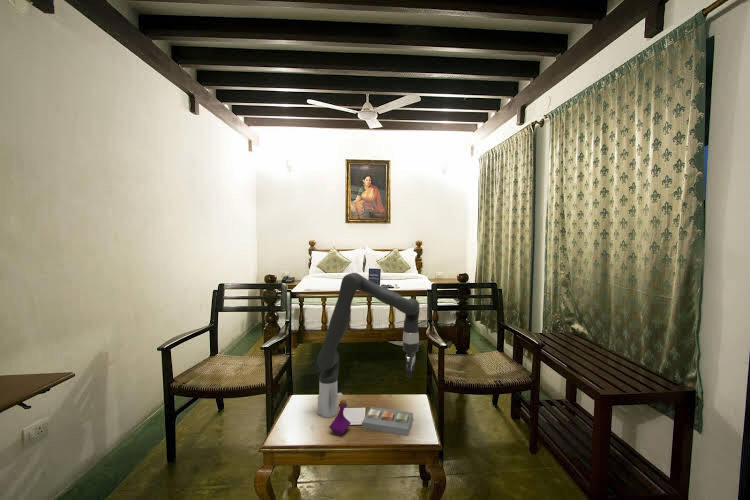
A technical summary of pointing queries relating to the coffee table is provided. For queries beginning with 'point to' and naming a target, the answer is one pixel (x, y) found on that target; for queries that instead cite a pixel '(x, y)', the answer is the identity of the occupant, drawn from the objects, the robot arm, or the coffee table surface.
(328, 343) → the robot arm
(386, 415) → the terracotta tile
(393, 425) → the tile board
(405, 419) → the sage tile
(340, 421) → the perfume bottle
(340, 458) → the coffee table surface
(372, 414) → the cream tile
